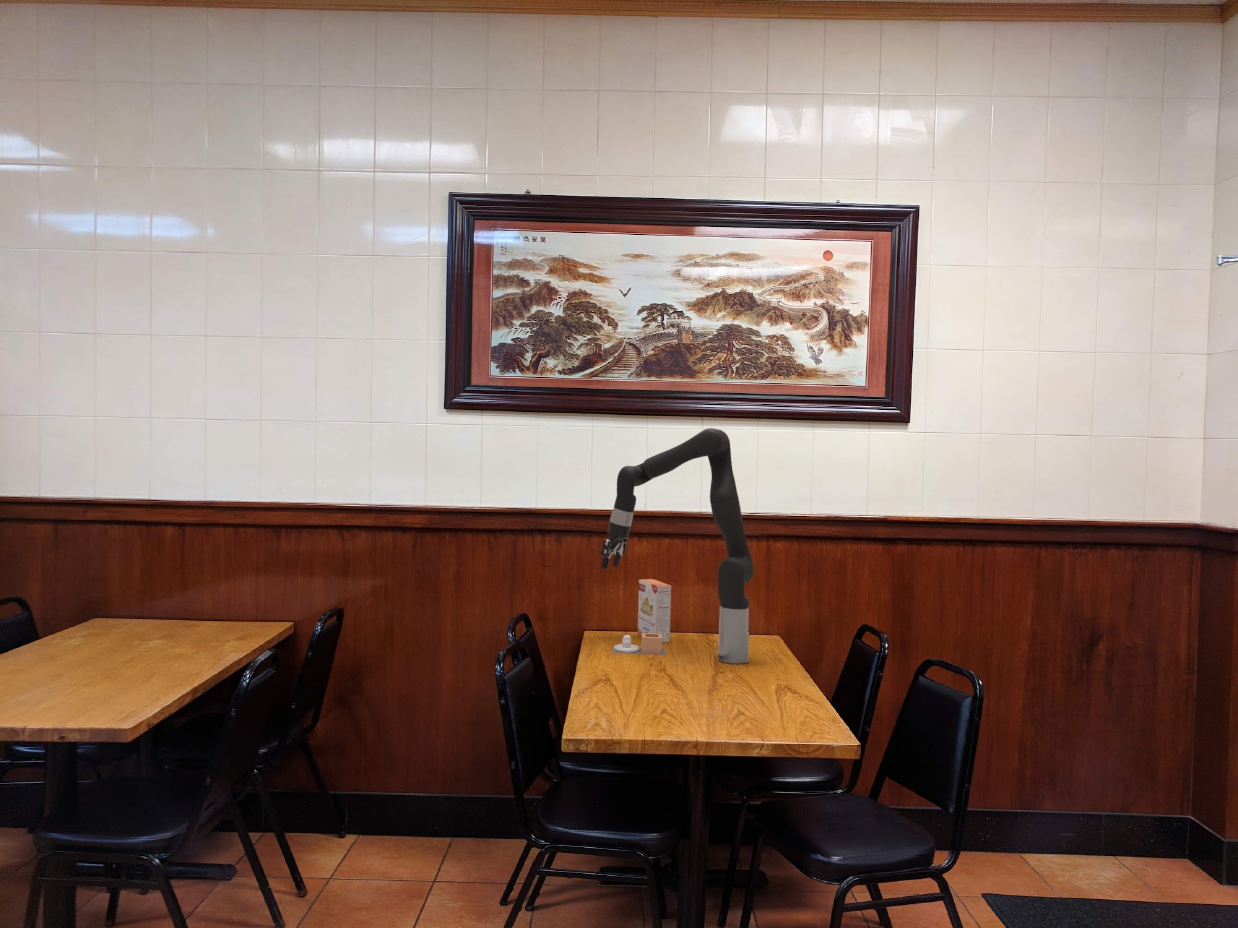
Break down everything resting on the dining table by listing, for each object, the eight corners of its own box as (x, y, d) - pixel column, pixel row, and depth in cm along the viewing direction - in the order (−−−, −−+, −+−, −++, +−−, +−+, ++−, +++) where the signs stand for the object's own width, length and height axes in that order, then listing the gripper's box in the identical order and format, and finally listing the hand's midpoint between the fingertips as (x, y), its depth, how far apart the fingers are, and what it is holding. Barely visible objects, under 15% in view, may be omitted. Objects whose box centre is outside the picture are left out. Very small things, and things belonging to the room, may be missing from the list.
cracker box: (636, 637, 288) (638, 578, 287) (651, 636, 290) (653, 578, 290) (654, 647, 275) (656, 585, 274) (670, 645, 277) (672, 584, 277)
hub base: (664, 652, 268) (665, 633, 268) (665, 659, 259) (666, 639, 259) (612, 650, 268) (613, 631, 268) (612, 657, 259) (612, 637, 259)
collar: (660, 648, 267) (661, 633, 266) (661, 653, 260) (662, 638, 260) (641, 648, 267) (641, 632, 267) (641, 652, 260) (642, 637, 260)
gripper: (620, 526, 273) (609, 572, 274) (639, 524, 285) (628, 568, 287) (601, 520, 276) (590, 565, 278) (620, 518, 289) (609, 562, 290)
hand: (609, 567), depth 282 cm, fingers open, 8 cm apart
